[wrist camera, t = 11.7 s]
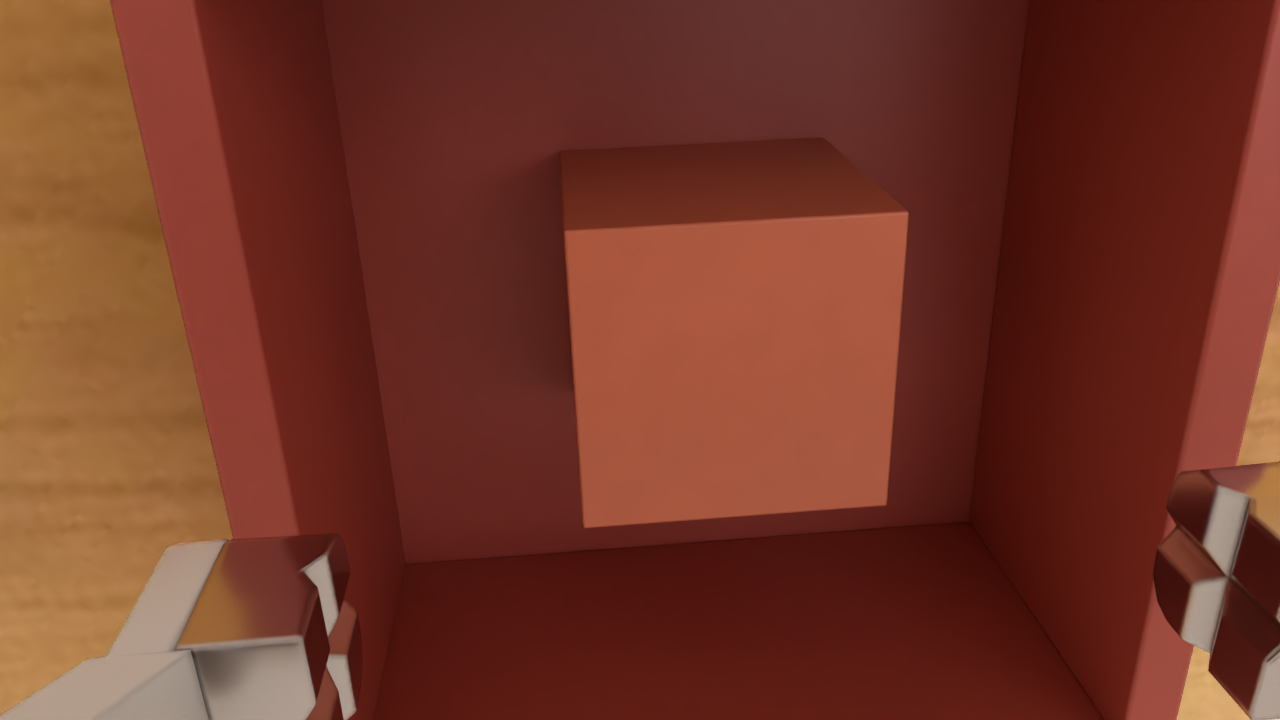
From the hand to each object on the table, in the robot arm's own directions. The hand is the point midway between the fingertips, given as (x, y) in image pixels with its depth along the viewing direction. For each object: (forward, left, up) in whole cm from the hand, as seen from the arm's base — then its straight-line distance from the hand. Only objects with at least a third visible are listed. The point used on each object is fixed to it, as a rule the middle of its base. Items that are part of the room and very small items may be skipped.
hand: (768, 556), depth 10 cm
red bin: (0, 0, -9) cm, 9 cm away
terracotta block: (0, 0, -9) cm, 9 cm away
